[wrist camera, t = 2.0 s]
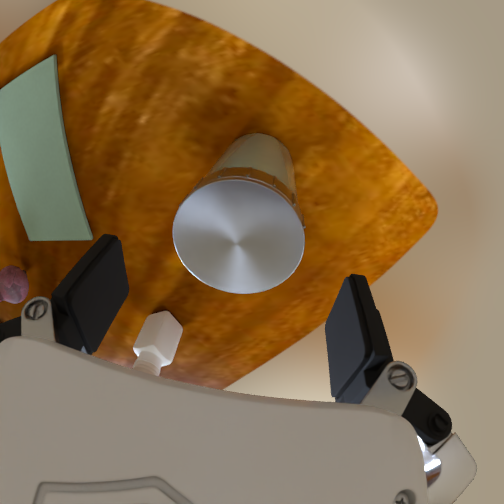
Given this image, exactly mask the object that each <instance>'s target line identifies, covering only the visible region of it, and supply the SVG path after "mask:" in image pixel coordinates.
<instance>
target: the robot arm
mask: <svg viewBox="0 0 504 504" xmlns="http://www.w3.org/2000/svg"><path fill="white" fill-rule="evenodd" d="M128 293H129V285H128V280H127V275H126V269H125V263H124V257H123V251H122V245H121V241H120V240H118V237H117V236H115V235H109V234H103V235H102V236H101V237H100V238H99V239H98V240H97V242H96V243H95V244H94V245H93V246H92V247H91V248H90V249H89V250H88V251H87V252H86V254H85V255H84V256H83V257H82V258H81V259H80V260H79V261H78V263H77V264H76V265H75V266H74V267H73V268H72V269H71V271H70V272H69V273H68V274H67V275H66V277H65V278H64V279H63V280H62V281H61V283H60V284H59V285H58V286H57V288H56V289H55V290H54V291H53V293H52V294H51V295H52V298H51V299H50V300H49V299H48V298H46V297H42V296H39V297H35V298H32V299H31V300H29V301H28V302H27V303H26V304H25V305H24V307H23V309H22V313H21V316H20V317H17V318H14V319H12V320H9V321H6V322H4V323H1V324H0V504H453V503H454V502H455V500H456V499H457V498H458V497H459V496H460V495H461V494H462V492H463V491H464V490H465V489H466V488H467V486H468V485H469V484H470V483H471V482H472V480H473V479H474V477H475V475H476V471H477V465H476V462H475V460H474V459H473V457H472V456H471V455H470V453H469V451H468V450H467V449H466V447H465V445H464V444H463V443H462V441H461V440H460V438H459V437H458V435H457V434H456V433H454V434H452V433H451V429H452V422H451V418H450V417H449V414H448V413H447V412H446V411H445V410H444V409H442V408H441V407H440V406H438V405H437V404H436V403H435V402H433V401H432V400H431V399H430V398H428V397H427V396H426V395H425V394H423V393H422V392H421V391H420V390H418V389H417V388H416V386H417V376H416V373H415V372H414V370H413V369H412V368H411V367H410V366H409V365H408V364H406V363H404V362H401V361H393V357H392V353H391V349H390V346H389V342H388V339H387V336H386V332H385V329H384V325H383V322H382V319H381V316H380V313H379V311H378V310H377V309H376V306H375V303H374V300H373V297H372V294H371V291H370V288H369V285H368V282H367V280H366V277H365V276H363V275H357V274H351V275H350V276H349V277H346V278H345V279H344V282H343V284H342V287H341V289H340V291H339V294H338V296H337V298H336V301H335V303H334V305H333V307H332V310H331V312H330V314H329V316H328V319H327V321H326V324H325V333H326V342H327V352H328V362H329V373H330V385H331V395H332V397H335V400H336V401H335V402H320V401H306V400H294V399H284V398H274V397H265V396H257V395H250V394H243V393H236V392H230V391H224V390H219V389H213V388H208V387H203V386H198V385H193V384H189V383H184V382H180V381H176V380H171V379H167V378H163V377H159V376H156V375H152V374H148V373H145V372H141V371H138V370H134V369H131V368H128V367H124V366H121V365H118V364H115V363H112V362H109V361H106V360H103V359H100V358H97V357H94V356H92V353H93V352H95V351H96V350H97V349H98V347H99V345H100V343H101V341H102V340H103V338H104V336H105V334H106V332H107V330H108V329H109V327H110V325H111V323H112V321H113V320H114V318H115V316H116V314H117V313H118V311H119V309H120V308H121V306H122V304H123V302H124V301H125V299H126V297H127V296H128Z"/></svg>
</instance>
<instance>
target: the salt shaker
mask: <svg viewBox="0 0 504 504" xmlns="http://www.w3.org/2000/svg"><path fill="white" fill-rule="evenodd" d="M182 331H183V328H182V326H181V325H180V324H179V322H178V321H177V320H176V319H175V318H174V317H173V316H172V314H171V313H170V312H168V311H162V312H158V313H155V314H151V315H149V316H148V317H147V318H146V320H145V323H144V325H143V327H142V329H141V331H140V333H139V335H138V338H137V340H136V342H135V344H134V347H133V349H134V352H135V353H136V354H137V356H138V358H137V360H136V361H135V363H134V366H133V368H132V369H134V370H138V371H141V372H145V373H148V374H152V375H156V376H159V373H160V369H161V366H166V365H169V364H170V363H171V362H172V361H173V358H174V355H175V352H176V349H177V346H178V343H179V340H180V337H181V334H182Z"/></svg>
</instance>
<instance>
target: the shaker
mask: <svg viewBox="0 0 504 504" xmlns="http://www.w3.org/2000/svg"><path fill="white" fill-rule="evenodd" d="M249 166H250V167H252V168H253V169H257V170H260V171H264V172H266V173H268V174H270V175H272V176H277V179H278V180H280V181H281V182H282V183H283V184H285V185H286V186H287V188H288V189H289V190H290V191H291V192H292V193H294V194H295V198H296V200H297V202H298V199H297V191H296V183H295V176H294V169H293V162H292V158H291V155H290V153H289V151H288V150H287V148H286V147H285V146H284V145H283V144H282V143H281V142H280V141H279V140H277V139H276V138H274V137H272V136H269V135H266V134H261V133H253V134H247V135H244V136H242V137H240V138H238V139H236V140H235V141H234V142H233V143H232V144H231V145H230V146H229V147H228V148H227V150H226V151H225V152H224V153H223V154H222V156H221V157H220V158H219V160H218V161H217V162H216V163H215V165H214V166H213V167H212V168H211V170H210V171H209V172H208V174H207V175H206V176H208V175H210V174H212V173H213V172H216V171H219V170H222V169H223V167H225V168H232V167H247V168H249ZM206 176H205V177H206Z"/></svg>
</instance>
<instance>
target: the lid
mask: <svg viewBox="0 0 504 504" xmlns="http://www.w3.org/2000/svg"><path fill="white" fill-rule="evenodd" d="M179 206H180V207H179V209H178V211H177V213H176V216H175V219H174V223H173V240H174V245H175V248H176V251H177V253H178V256H179V258H180V259H181V261H182V263H183V264H184V265H185V266H186V268H187V269H188V270H189V271H190V272H191V273H192V274H193V275H194V276H195V277H197V278H198V279H199V280H201V281H202V282H204V283H206V284H208V285H209V286H211V287H214V288H216V289H219V290H222V291H226V292H231V293H240V294H249V293H257V292H261V291H265V290H268V289H271V288H273V287H275V286H277V285H279V284H280V283H282V282H284V281H285V280H286V279H287V278H288V277H289V276H290V275H291V274H292V273H293V272H294V271H295V269H296V268H297V266H298V265H299V263H300V261H301V259H302V255H303V252H304V246H305V236H304V228H305V223H304V216H303V214H301V210H300V207H299V204H298V202H297V200H296V198H295V194H294V193H292V192H291V191H290V190H289V189H288V188H287V186H286V185H285V184H283V183H282V182H281V181H280V180H278V179H277V176H272V175H270V174H268V173H266V172H264V171H260V170H257V169H253V168H252V167H250V166H249V168H247V167H232V168H225V167H223V169H222V170H219V171H216V172H213V173H212V174H210V175H208V176H206V177H205V178H203V177H202V178H201V179H200V180H199V182H198V183H197V184H196V185H195V187H194V188H193V189H192V191H191V192H190V193H189V194H187V196H186V197H185V198H184V200H183V201H182V202H181V204H180V205H179Z"/></svg>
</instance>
